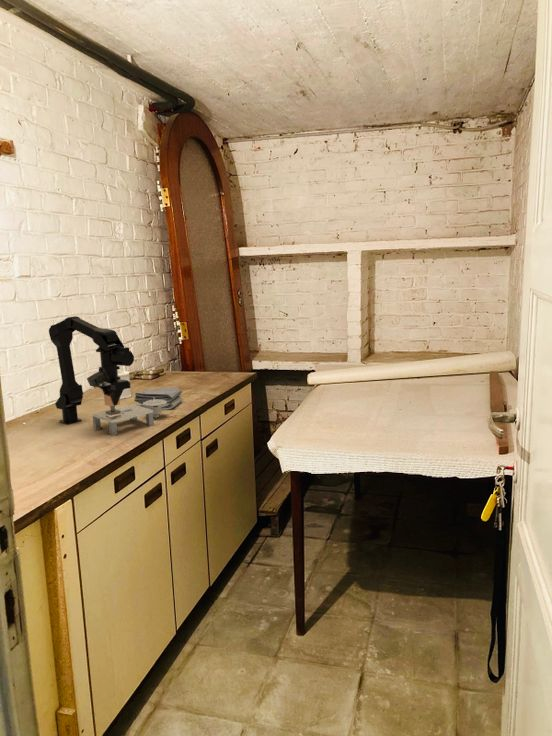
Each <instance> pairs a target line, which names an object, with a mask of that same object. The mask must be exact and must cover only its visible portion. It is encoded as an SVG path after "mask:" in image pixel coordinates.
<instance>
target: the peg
mask: <svg viewBox="0 0 552 736" xmlns="http://www.w3.org/2000/svg"><path fill="white" fill-rule="evenodd" d="M103 396H104V397H103V399H104V406H107V407H109V408H110V409H107V410H108V411H106V410H105V411H106V414H108V415H109V416H116V415H120V414H119V413H121V412H120V410H117V409H115V408H116V406H119V405H120V404H121V401H120V400H121V399H119V401H118V404H117V405H115V406H114V404H113V399H112V394H111V393H109V394H104V393H103Z"/></svg>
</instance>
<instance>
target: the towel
mask: <svg viewBox="0 0 552 736" xmlns="http://www.w3.org/2000/svg"><path fill="white" fill-rule="evenodd" d="M182 393H183V391H182V389H181V388H179V387H175V386H167V387H162V388H146V389H144V390H143V391H142V392H139V391H136V392H135V393H134V396H135V397H134V399H133V401H135V402H136V405H138V406H141V407H143V403H144V402H145V401H148V400H154V398H155V399H161V400H162V399H163V400H166V401H167V405H166V406H164V407H161V410H162V411H167V410H168V411H169V410H171V409H174V408H175V407H176V406H177V405H178V404H180V403H181V402H182V401H183V398H182V396H180V395H181V394H182ZM144 408H145V407H144ZM148 409H149V408H148Z"/></svg>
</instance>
